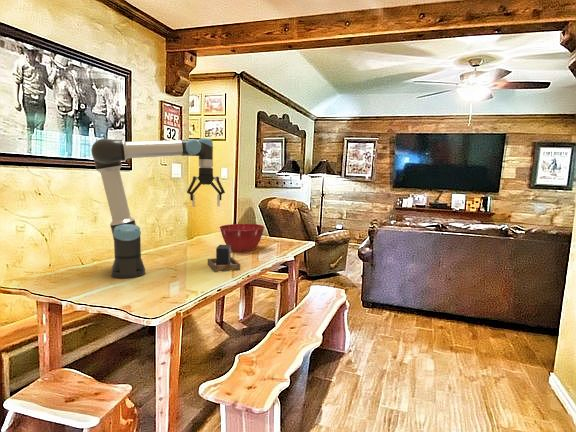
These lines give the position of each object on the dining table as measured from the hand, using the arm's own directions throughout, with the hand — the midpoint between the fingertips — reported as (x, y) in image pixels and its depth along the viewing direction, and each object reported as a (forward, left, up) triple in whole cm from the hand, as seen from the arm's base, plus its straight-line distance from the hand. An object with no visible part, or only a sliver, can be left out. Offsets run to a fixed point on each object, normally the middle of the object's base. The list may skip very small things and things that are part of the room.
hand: (206, 206), depth 209 cm
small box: (+6, -16, -30) cm, 35 cm away
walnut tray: (+6, -16, -31) cm, 35 cm away
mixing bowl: (+27, +25, -31) cm, 48 cm away
